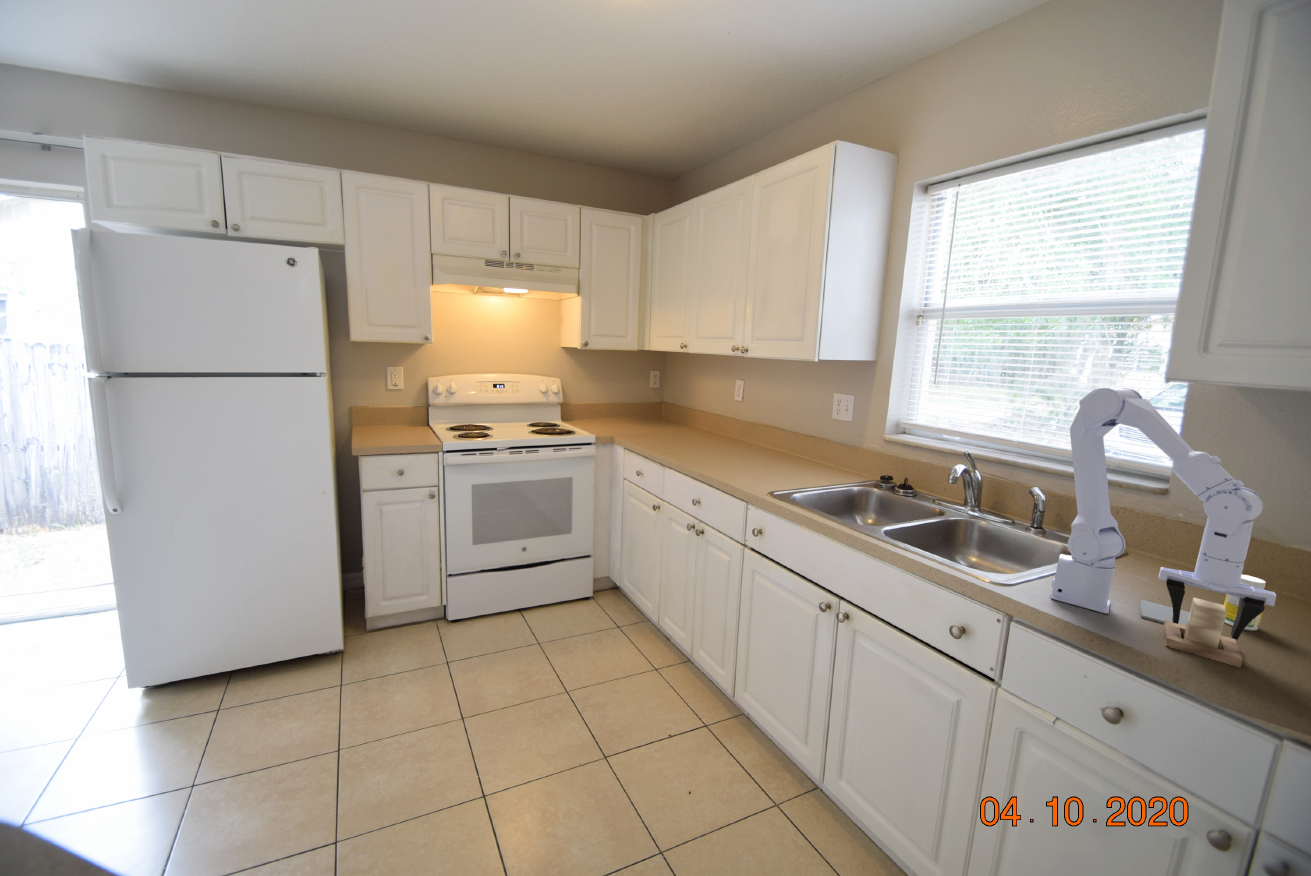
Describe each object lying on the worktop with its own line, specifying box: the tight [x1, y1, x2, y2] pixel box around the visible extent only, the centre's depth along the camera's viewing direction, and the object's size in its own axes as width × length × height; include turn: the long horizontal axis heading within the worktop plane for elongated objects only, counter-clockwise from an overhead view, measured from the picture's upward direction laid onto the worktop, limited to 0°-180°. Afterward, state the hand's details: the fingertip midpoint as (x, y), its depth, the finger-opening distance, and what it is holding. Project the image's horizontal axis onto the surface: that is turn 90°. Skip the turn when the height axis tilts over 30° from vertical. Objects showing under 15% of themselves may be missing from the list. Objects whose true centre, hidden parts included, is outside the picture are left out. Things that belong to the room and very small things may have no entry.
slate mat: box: [1139, 599, 1190, 626], centre depth 113 cm, size 10×10×1 cm
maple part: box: [1183, 597, 1227, 649], centre depth 101 cm, size 4×4×8 cm
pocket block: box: [1162, 620, 1243, 668], centre depth 102 cm, size 10×10×2 cm
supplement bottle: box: [1223, 574, 1266, 631], centre depth 111 cm, size 5×5×10 cm
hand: (1203, 629), depth 101 cm, fingers open, 7 cm apart
